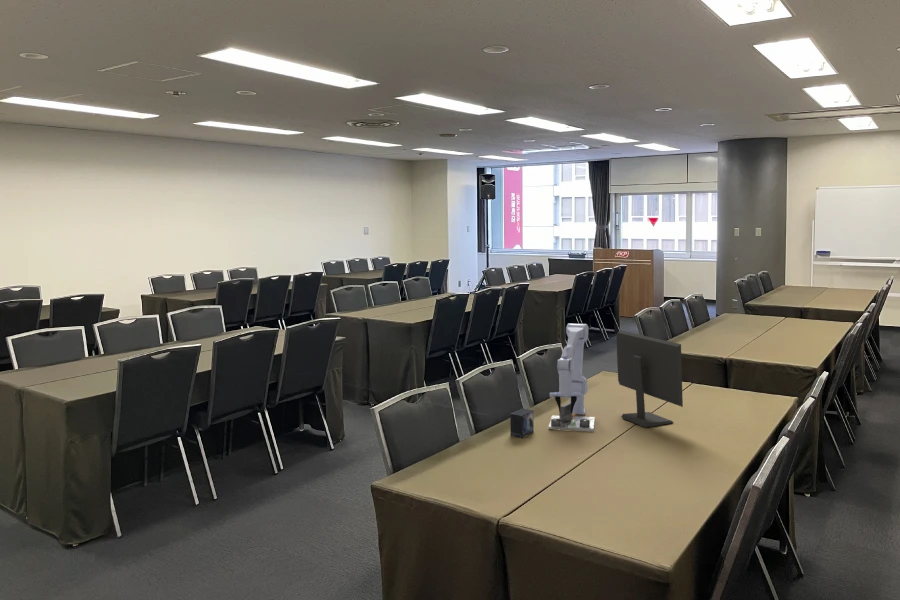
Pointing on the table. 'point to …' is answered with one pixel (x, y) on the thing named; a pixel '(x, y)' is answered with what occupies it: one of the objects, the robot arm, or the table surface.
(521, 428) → the small box
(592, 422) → the plate
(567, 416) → the knob
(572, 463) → the table surface
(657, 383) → the computer monitor
